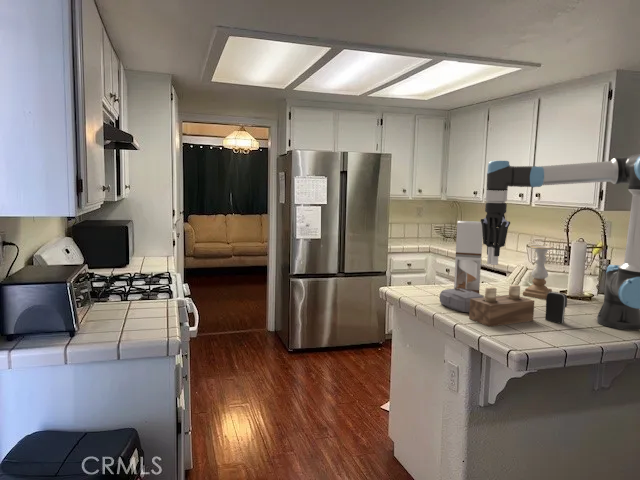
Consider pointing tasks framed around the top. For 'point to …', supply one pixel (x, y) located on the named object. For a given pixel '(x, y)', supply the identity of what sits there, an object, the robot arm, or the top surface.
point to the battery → (555, 306)
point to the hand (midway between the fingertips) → (492, 264)
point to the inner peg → (514, 292)
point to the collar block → (501, 310)
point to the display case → (468, 255)
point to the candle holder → (539, 274)
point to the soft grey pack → (458, 298)
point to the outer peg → (490, 294)
